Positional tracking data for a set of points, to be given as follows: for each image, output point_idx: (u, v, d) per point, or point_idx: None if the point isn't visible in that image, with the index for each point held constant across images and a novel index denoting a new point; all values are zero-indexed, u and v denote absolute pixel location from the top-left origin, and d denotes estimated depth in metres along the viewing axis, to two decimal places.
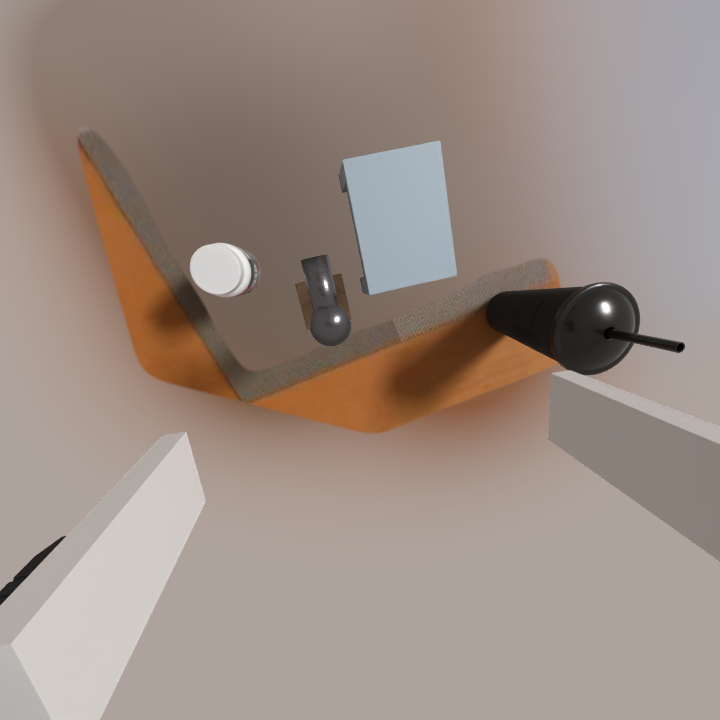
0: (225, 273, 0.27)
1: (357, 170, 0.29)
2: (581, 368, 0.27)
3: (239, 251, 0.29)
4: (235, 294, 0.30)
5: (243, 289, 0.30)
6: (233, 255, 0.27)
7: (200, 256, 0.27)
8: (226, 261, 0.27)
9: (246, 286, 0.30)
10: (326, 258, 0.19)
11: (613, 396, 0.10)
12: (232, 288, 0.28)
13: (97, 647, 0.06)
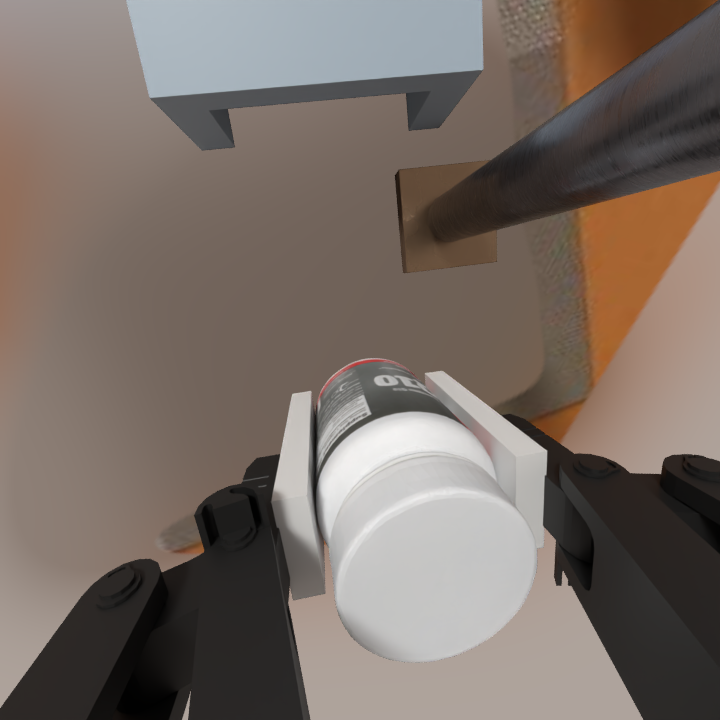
0: (463, 551, 0.06)
1: (172, 56, 0.11)
2: None
3: (351, 447, 0.08)
4: (495, 475, 0.08)
5: (481, 447, 0.08)
6: (390, 514, 0.06)
7: (381, 631, 0.06)
8: (415, 543, 0.06)
9: (471, 435, 0.08)
10: None
11: (452, 393, 0.11)
12: (525, 526, 0.06)
13: None
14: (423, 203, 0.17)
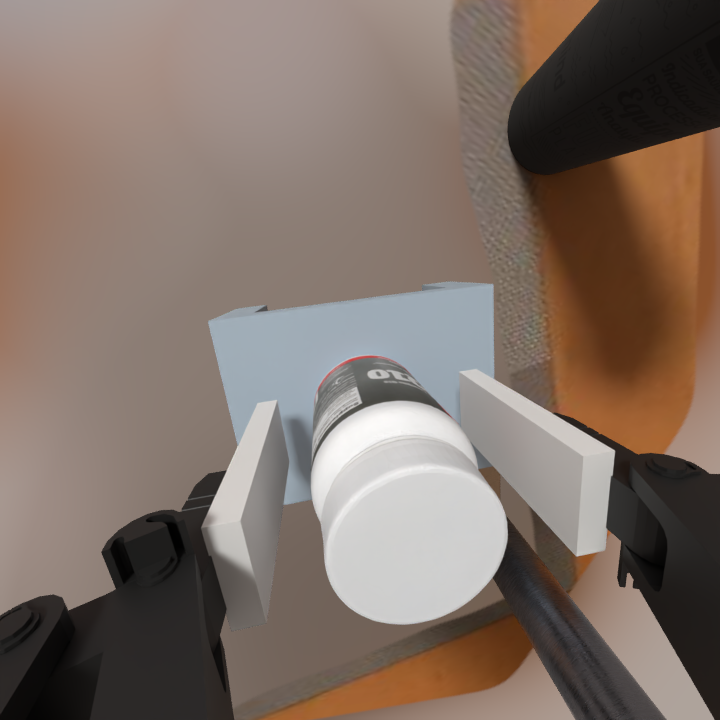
0: (439, 522, 0.07)
1: None
2: None
3: (343, 432, 0.08)
4: (475, 460, 0.09)
5: (463, 434, 0.09)
6: (373, 486, 0.06)
7: (366, 594, 0.07)
8: (395, 513, 0.07)
9: (454, 423, 0.09)
10: None
11: (494, 391, 0.11)
12: (496, 501, 0.07)
13: (264, 546, 0.08)
14: None
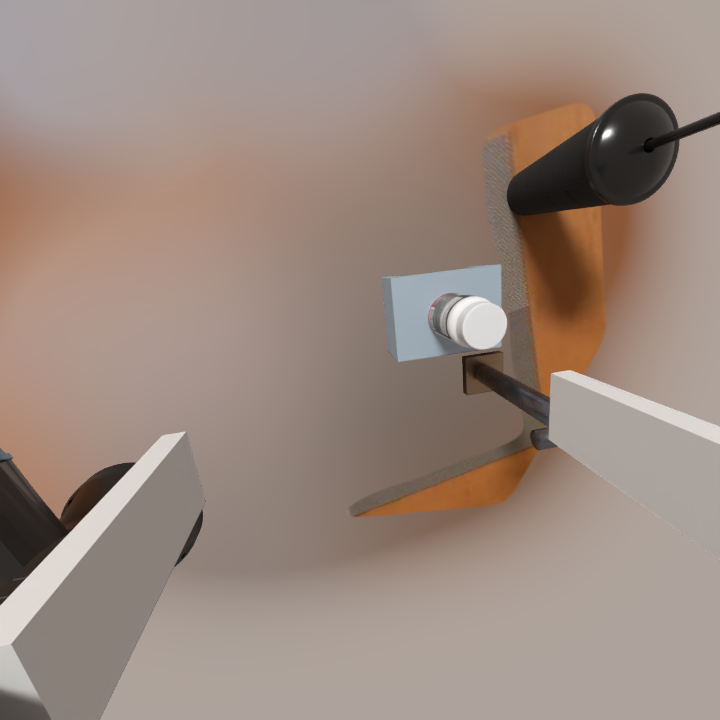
0: (490, 318, 0.28)
1: (406, 350, 0.36)
2: (667, 170, 0.26)
3: (459, 304, 0.29)
4: None
5: None
6: (475, 307, 0.27)
7: (471, 338, 0.28)
8: (480, 314, 0.27)
9: (490, 303, 0.30)
10: (542, 434, 0.26)
11: (613, 396, 0.10)
12: (504, 313, 0.28)
13: (97, 647, 0.06)
14: (474, 369, 0.42)
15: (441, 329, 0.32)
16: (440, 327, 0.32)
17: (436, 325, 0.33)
